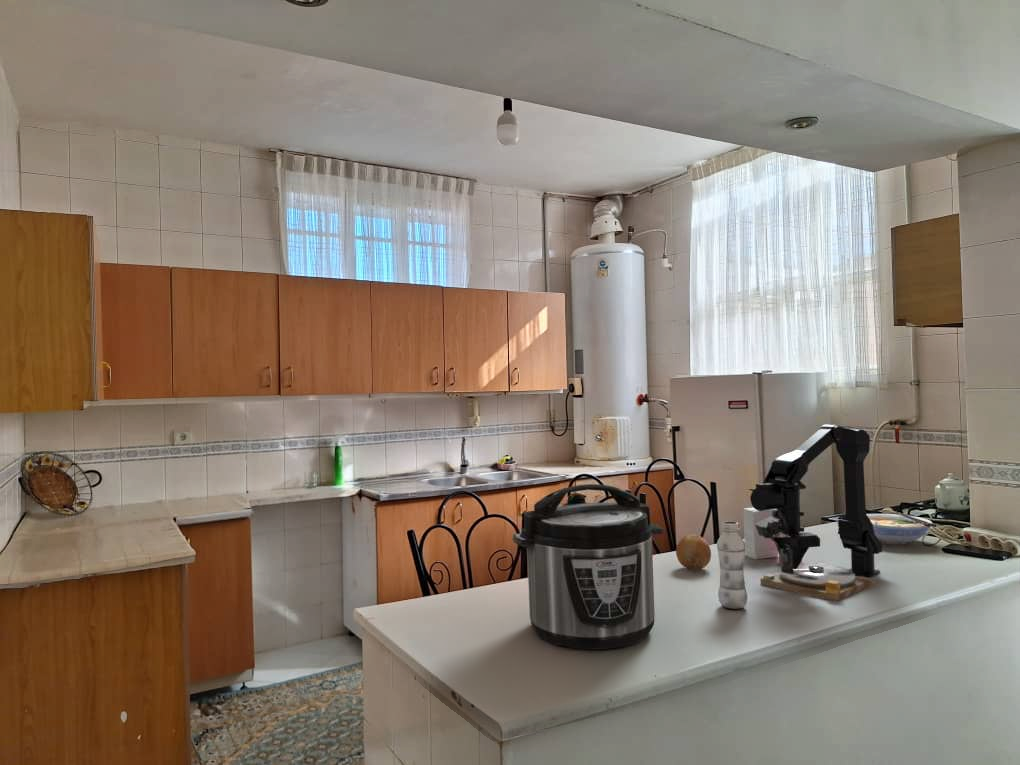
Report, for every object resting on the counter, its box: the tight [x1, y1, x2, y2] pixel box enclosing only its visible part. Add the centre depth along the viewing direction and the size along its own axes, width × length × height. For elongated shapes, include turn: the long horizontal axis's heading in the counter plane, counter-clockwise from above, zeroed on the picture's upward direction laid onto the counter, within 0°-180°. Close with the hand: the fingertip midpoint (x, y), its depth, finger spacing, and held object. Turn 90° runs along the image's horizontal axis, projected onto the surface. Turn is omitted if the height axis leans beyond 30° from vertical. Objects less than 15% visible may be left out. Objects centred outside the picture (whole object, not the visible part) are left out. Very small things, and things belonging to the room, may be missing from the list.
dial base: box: [760, 571, 874, 602], centre depth 179 cm, size 20×20×4 cm
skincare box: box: [742, 506, 779, 560], centre depth 210 cm, size 8×6×15 cm
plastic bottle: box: [716, 520, 748, 610], centre depth 162 cm, size 6×7×20 cm
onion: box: [675, 533, 712, 571], centre depth 197 cm, size 10×10×10 cm
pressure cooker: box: [512, 483, 664, 650], centre depth 149 cm, size 30×28×32 cm
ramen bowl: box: [866, 511, 937, 546], centre depth 225 cm, size 25×23×8 cm
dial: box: [778, 547, 856, 588], centre depth 179 cm, size 18×18×8 cm
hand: (789, 566), depth 179 cm, fingers open, 4 cm apart
